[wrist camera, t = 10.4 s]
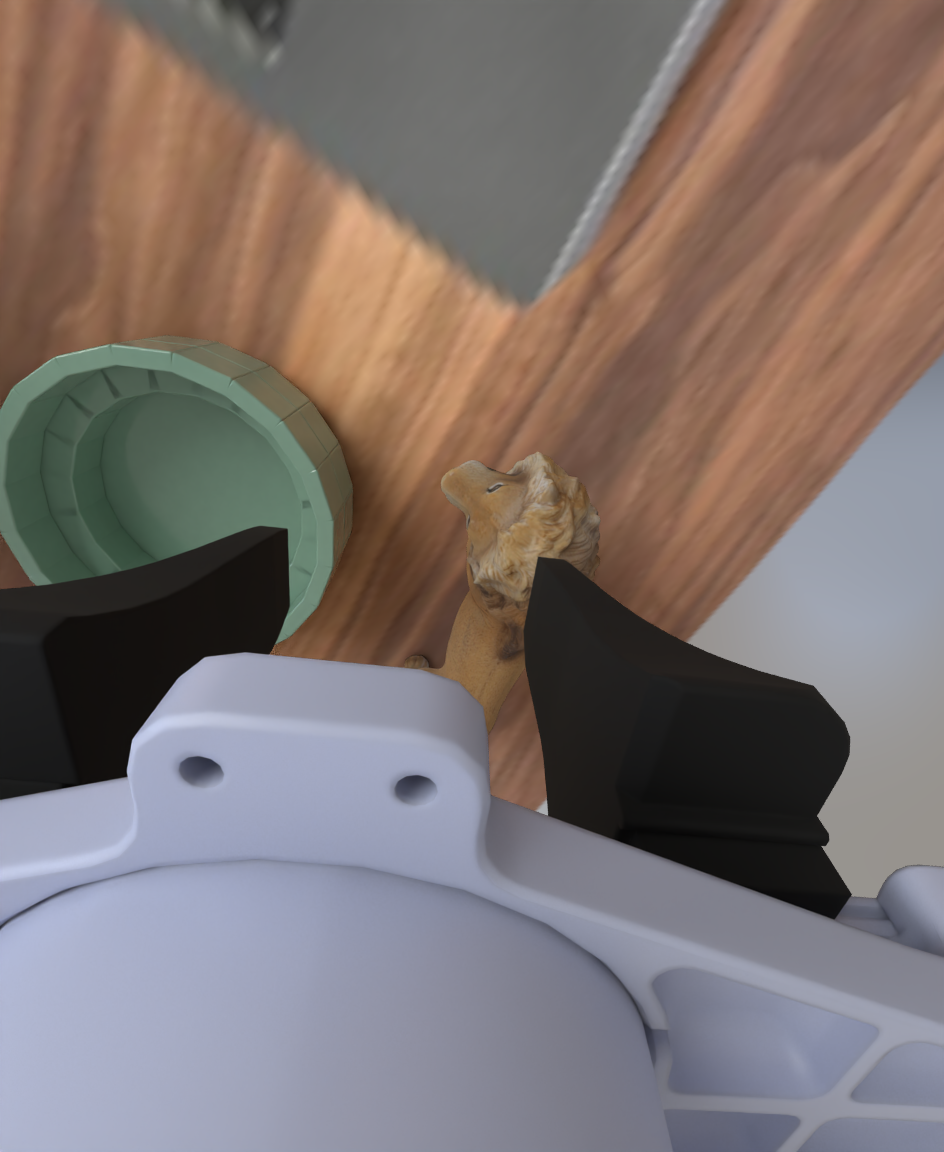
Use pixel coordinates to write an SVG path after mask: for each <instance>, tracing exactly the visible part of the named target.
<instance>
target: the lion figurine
mask: <svg viewBox="0 0 944 1152" xmlns="http://www.w3.org/2000/svg"><path fill="white" fill-rule="evenodd" d="M441 489H442V491H443V492H444V493H445V494H446V497H447V499H448V500H449V501H450V502H451V503H452V504H453V505H454V506H456V507H457V508H459V509H460V510H461V511H463V512H464V514H465V518H466V529H467V533H468V536H469V538H468V542H467V547H466V552H467V565H466V569H467V577H468V584H469V588H470V591H469V592H468V593H467V595H466V597H465V599H464V600H463V602H462V604H461V606H460V608H459V611H458V614H457V616H456V619H455V621H454V624H453V628H452V632H451V636H450V639H449V642H448V647H447V652H446V659H445V664H444V666H443V667H442V668H440V669H434V668H428V667H429V664H428V661H427V660H426V659H425V658H424V657H423V656H421V655H420V656H416V655H414V656H411V657H409V658H407V659H406V661H405V664H404V668H410V669H420V670H423V671H427V672H430V673H433V674H436V675H439V676H442V677H445V678H448V679H451V680H455V681H458V682H459V683H460V684H461V685H462V686H463V687H464V688H465V689H466V690H467V691H468V692H469V693H470V694H471V695H472V696H473V697H474V698H475V699H476V700H477V701H478V702H479V703H480V704H481V705H482V706H483V709H484V715H485V721H486V727H487V733H488V734H489V733H490V731H491V730H492V728H493V726H494V724H495V721H496V719H497V715H498V712H499V710H500V708H501V706H502V704H503V702H504V700H505V698H506V696H507V694H508V693H509V691H510V690H511V688H512V687H513V685H514V684H515V682H516V681H517V679H518V678H519V676H520V675H521V673H522V672H523V670H524V669H525V667H526V666H525V653H524V633H523V630H524V625H525V620H526V615H527V610H528V605H529V600H530V595H531V589H532V584H533V579H534V574H535V569H536V564H537V559H538V557H546V558H555V559H564V560H566V561H567V562H569V563H570V564H572V565H573V566H574V567H575V568H577V569H578V570H579V571H580V572H582V573H583V574H584V575H585V576H586V577H588V578H589V579H590V580H591V581H592V579H593V578H594V575H595V569H596V568H597V567H598V566H599V564H600V558H599V557H598V556H597V553H598V550H599V546H598V543H597V542H598V540H599V538H600V533H599V524H600V517H599V516H598V512H597V510H596V509H595V508H594V507H593V506H592V505H591V503H590V499H589V497H588V495H587V491H586V488H585V486H584V485H583V484H581V483H580V482H579V480H578V478H577V477H572V476H569V475H567V474H566V472H565V471H564V470H563V469H562V468H561V467H559V466H558V465H556V464H555V463H554V461H553V460H552V459H551V458H549V457H548V456H545V455H543V454H541V453H539V452H536V454H532V455H529V456H527V457H526V458H525V460H523V461H518V462H517V463H516V464H515V465H514V467H513V468H512V469H511V470H510V471H508V472H507V473H506V474H505V473H502V472H499V471H496V470H493V469H491V468H488V467H486V466H484V465H483V464H482V463H480V462H479V461H475V460H472V461H468V462H466V463H463V464H462V465H460V466H459V467H456V468H453V469H451V470H450V471H449V472H447V473H446V474H445V475H444V476H443V478H442V480H441Z"/></svg>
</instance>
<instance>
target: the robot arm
mask: <svg viewBox="0 0 944 1152" xmlns="http://www.w3.org/2000/svg"><path fill="white" fill-rule="evenodd" d="M289 608H290V586H289V550H288V529H287V528H278V527H269V526H256V527H252V528H249V529H246V530H243V531H240V532H237V533H234V534H232V535H229V536H227V537H224V538H221V539H219V540H216V541H214V542H211V543H208V544H206V545H203V546H201V547H198V548H195V549H192V550H189V551H186V552H184V553H181V554H178V555H175V556H172V557H169V558H166V559H163V560H160V561H157V562H154V563H150V564H147V565H143V566H140V567H136V568H132V569H128V570H124V571H119V572H115V573H111V574H106V575H102V576H96V577H90V578H84V579H78V580H72V581H67V582H61V583H55V584H48V585H39V586H31V587H22V588H11V589H0V1152H944V867H941V866H928V865H911V866H905V867H903V868H900V869H898V870H896V871H894V872H893V873H892V874H891V875H890V876H889V877H888V878H887V879H886V880H885V882H884V883H883V885H882V887H881V889H880V891H879V894H878V896H877V898H864V897H852V896H851V895H852V894H851V893H850V891H849V889H848V888H847V886H846V885H845V883H844V881H843V880H842V878H841V877H840V875H839V874H838V872H837V870H836V869H835V867H834V866H833V864H832V862H831V861H830V859H829V858H828V856H827V855H826V853H825V851H824V850H823V848H822V847H821V846H826V845H827V843H828V842H829V834H828V832H827V831H826V829H825V828H824V826H823V825H822V823H821V822H820V820H819V818H818V817H817V815H818V813H819V811H820V810H821V808H822V806H823V805H824V803H825V801H826V799H827V798H828V796H829V794H830V793H831V791H832V789H833V788H834V786H835V784H836V782H837V781H838V779H839V777H840V776H841V774H842V772H843V769H844V767H845V765H846V762H847V760H848V757H849V753H850V736H849V733H848V731H847V728H846V725H845V722H844V721H843V720H842V719H841V718H840V717H839V715H838V714H837V713H836V712H835V711H834V709H833V708H832V707H831V706H830V705H829V704H828V702H827V701H826V700H825V699H824V698H823V696H822V695H821V694H820V693H819V692H818V691H817V689H816V688H815V687H814V686H812V685H808V684H805V683H801V682H798V681H794V680H790V679H787V678H783V677H779V676H775V675H771V674H768V673H764V672H761V671H758V670H755V669H752V668H749V667H746V666H743V665H740V664H737V663H735V662H731V661H729V660H726V659H723V658H721V657H718V656H716V655H713V654H711V653H708V652H706V651H704V650H702V649H699V648H697V647H695V646H693V645H691V644H688V643H686V642H684V641H682V640H680V639H678V638H676V637H674V636H672V635H670V634H668V633H666V632H665V631H663V630H661V629H659V628H658V627H656V626H654V625H652V624H651V623H649V622H647V621H645V620H644V619H642V618H641V617H639V616H638V615H636V614H635V613H633V612H632V611H630V610H629V609H627V608H626V607H625V606H623V605H622V604H620V603H619V602H618V601H616V600H615V599H614V598H612V597H611V596H610V595H608V594H607V593H606V592H605V591H603V590H602V589H601V588H600V587H598V586H597V585H596V584H595V583H594V582H592V581H591V580H590V579H589V578H588V577H586V576H585V575H584V574H583V573H582V572H580V571H579V570H578V569H577V568H575V567H574V566H573V565H572V564H570V563H569V562H567V561H566V560H564V559H555V558H546V557H538V559H537V564H536V569H535V574H534V579H533V584H532V589H531V595H530V600H529V605H528V610H527V615H526V620H525V625H524V630H523V633H524V653H525V666H526V671H527V676H528V681H529V686H530V691H531V695H532V700H533V705H534V710H535V714H536V719H537V724H538V728H539V733H540V738H541V744H542V750H543V757H544V768H545V780H546V791H547V804H548V816H547V815H544V814H541V813H539V812H536V811H533V810H530V809H528V808H525V807H522V806H519V805H517V804H514V803H511V802H508V801H506V800H503V799H500V798H497V797H495V796H492V795H491V794H490V773H489V749H488V733H487V727H486V721H485V715H484V709H483V706H482V705H481V704H480V703H479V702H478V701H477V700H476V699H475V698H474V697H473V696H472V695H471V694H470V693H469V692H468V691H467V690H466V689H465V688H464V687H463V686H462V685H461V684H460V683H459V682H458V681H455V680H451V679H448V678H445V677H442V676H439V675H436V674H433V673H430V672H427V671H423V670H420V669H410V668H399V667H389V666H379V665H369V664H359V663H348V662H338V661H328V660H318V659H308V658H297V657H287V656H277V655H269V654H270V652H271V650H272V649H273V647H274V645H275V643H276V641H277V640H278V637H279V635H280V632H281V630H282V627H283V625H284V622H285V619H286V616H287V613H288V611H289Z"/></svg>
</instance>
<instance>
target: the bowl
mask: <svg viewBox="0 0 944 1152" xmlns="http://www.w3.org/2000/svg"><path fill="white" fill-rule="evenodd" d="M338 443H339V442H338V440H337V439H336V437H335V436H334V434H333V433H332V431H331V430H330V428H329V427H328V425H327V424H326V422H325V421H324V419H323V418H322V416H321V415H320V413H319V412H318V410H317V409H316V407H315V406H314V404H313V403H312V402H311V401H310V399H309V398H308V397H306V396H305V395H304V394H303V393H302V392H301V391H299V390H298V389H297V388H296V387H295V386H294V385H292V384H291V383H290V382H289V381H288V380H287V379H285V378H284V377H283V376H282V375H281V374H280V373H278V372H277V371H276V370H275V369H274V368H273V367H271V366H269V365H268V364H267V363H264V362H262V361H260V360H258V359H256V358H253V357H251V356H249V355H247V354H245V353H243V352H240V351H238V350H236V349H234V348H232V347H229V346H227V345H225V344H223V343H219V342H217V341H209V340H201V339H193V338H186V337H178V336H170V335H168V336H166V335H165V336H159V337H152V338H145V339H139V340H132V341H126V342H119V343H113V344H107V345H102V346H98V347H93V348H89V349H85V350H80V351H76V352H71V353H67V354H62V355H58V356H56V357H53V358H51V359H50V360H49V361H47V362H46V363H45V364H43V365H42V366H41V367H39V368H38V369H36V370H35V371H34V372H32V373H31V374H30V375H28V376H27V377H26V378H24V379H23V380H21V381H20V382H19V383H17V384H16V385H15V386H14V387H13V388H12V389H11V391H10V393H9V395H8V397H7V398H6V400H5V402H4V404H3V406H2V408H1V410H0V531H1V535H2V536H3V538H4V540H5V541H6V543H7V544H8V546H9V547H10V549H11V551H12V552H13V554H14V555H15V557H16V559H17V560H18V562H19V563H20V565H21V567H22V568H23V570H24V571H25V573H26V574H27V576H28V577H29V579H30V580H31V581H32V582H33V583H34V584H35V585H36V586H39V585H48V584H55V583H61V582H67V581H72V580H78V579H84V578H90V577H96V576H102V575H106V574H111V573H115V572H119V571H124V570H128V569H132V568H136V567H140V566H143V565H147V564H150V563H154V562H157V561H160V560H163V559H166V558H169V557H172V556H175V555H178V554H181V553H184V552H186V551H189V550H192V549H195V548H198V547H201V546H203V545H206V544H208V543H211V542H214V541H216V540H219V539H221V538H224V537H227V536H229V535H232V534H234V533H237V532H240V531H243V530H246V529H249V528H252V527H256V526H269V527H278V528H287V529H288V550H289V586H290V608H289V611H288V613H287V616H286V619H285V622H284V625H283V627H282V630H281V632H280V635H279V637H278V640H277V641H276V643H275V645H276V644H277V643H279V642H281V641H283V640H285V639H287V638H289V637H290V636H292V635H293V634H294V633H295V631H296V630H297V629H298V628H299V627H300V626H301V625H302V624H303V623H304V622H305V621H306V620H307V619H308V617H309V616H310V615H311V614H312V613H313V612H314V611H315V610H316V609H317V608H318V606H319V604H320V602H321V600H322V598H323V596H324V594H325V592H326V590H327V588H328V586H329V583H330V581H331V579H332V577H333V575H334V573H335V571H336V569H337V567H338V565H339V562H340V560H341V557H342V555H343V552H344V550H345V547H346V545H347V542H348V540H349V537H350V534H351V532H352V516H353V489H352V488H353V485H352V482H351V479H350V475H349V472H348V469H347V466H346V462H345V459H344V456H343V452H342V449H341V446H340V444H338Z"/></svg>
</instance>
